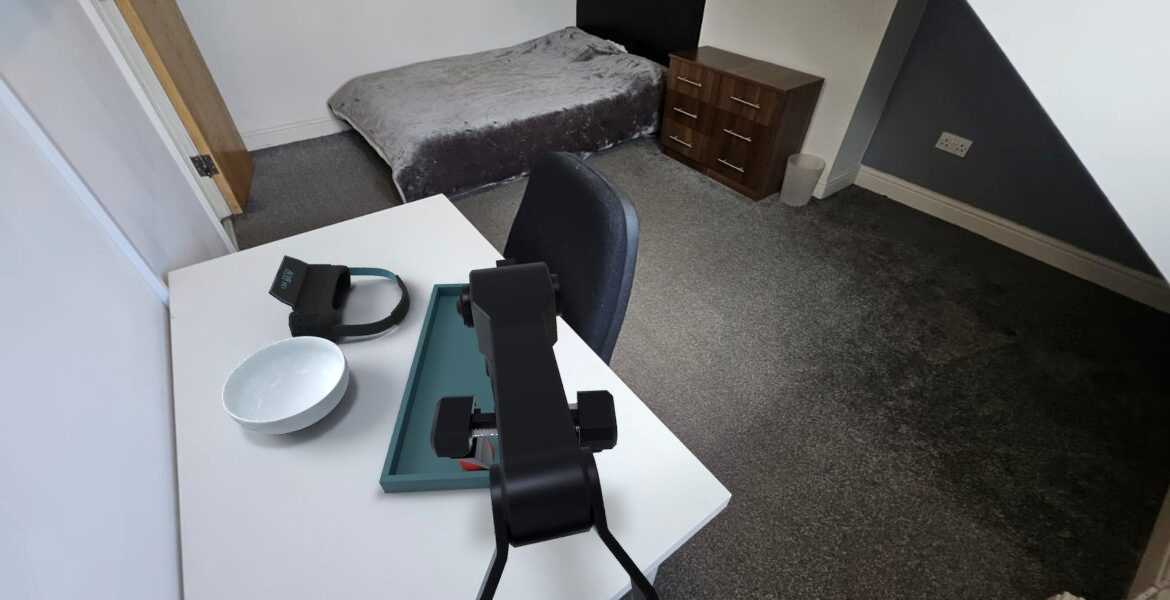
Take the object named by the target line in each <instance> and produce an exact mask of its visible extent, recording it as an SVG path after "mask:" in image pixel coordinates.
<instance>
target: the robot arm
mask: <svg viewBox="0 0 1170 600" xmlns="http://www.w3.org/2000/svg"><path fill="white" fill-rule="evenodd" d="M468 281H469V282H468V283H469V284H467V285H462V292H460V297H459V298H458V299H457V300H456V307H457V313H458V316H460V317H461V318H462V319H463V320H464V325H467V328H475V332H476V337H477V343H478V349H479V352H480V353H482V354H484V355H485V367H486V375H487V376H488V377H490V381H491V387H492V392H493V398H494V404H495V408H494V411H495V413H482V411H481V408H474V407H475V406H476V405H477V399H476V395H467V396H444V397H443V398H441V399H440V400H439V401H438V403H437V404H436V409H435V414H434V419H433V423H432V428H431V433H430V446H431V448H432V451H433V453H434V454H435V455H436V456H437V457H438V458H441V457H448V458H449V459H451V460H461V461H465V462H469V463H472V464H475V465H478V466H481V467H484V468H487V469H489V481H490V487H489V493H490V500H491V501H490V503H491V513H492V519H493V520H492V521H493V522H492V523H493V529H494V540H495V548H494V549H493V550H494V551H493V553H492V556H491V558H490V560H489V564H488V566H487V569H486V572H485V574H484V576H483V579H482V582H481V585H480V587H479V590H478V592H477V595H476V597H475V600H494V598H495V594H496V591H497V590H498V586H499V584H500V582H501V579H502V575H503V572H504V571H505V568H506V565H507V562H508V558H509V549H510V546H511V547H513V548H514V549H515V548H520V547H521V548H522V547H526V546H529V545H534V544H539V543H544V542H549V541H552V540H557V539H561V538H566V537H571V536H575V535H580V534H584V533H588V532H589V533H590V531H591V530H592V529H593V531H594V532H595V533H596V535H597V536H598V537H599V538H600V540H601V541H602V542H603V544H604V545H605V546H606V548H607V549H608V550H609V552H610V553H611V554H612V555H613V557H614V558H615V559H616V561H617V562H618V563H619V565H620V566H621V567H622V568H623V570H624V571H625V572H626V573H627V574H628V577H629V581H630V585H631V586H630V587H631V592H632V596H633V600H660V596H659V595H658V592H657V590H656V588H655V586H653V585H652V584H651V582H650V581H649V579H648V578H647V577H646V576H645V574H644V573H643V572H642V571H641V569H640V568H639V567H638V565H637V564H636V562H634V560H633V559H632V557H631V556H630V555H629V554H628V553H627V551H626V550H625V549H624V547H623V546H622V545H621V544H620V542H619V541H618V540H617V538H616V536H614V534H612V532H611V531H610V529H609V525H608V518H607V513H606V507H605V501H604V495H603V490H602V483H601V479H600V474H599V469H598V465H597V460H596V458H595V456H594V454H599V453H602V452H603V451H606V450H613V449H614V448H615V447H616V446H617V445H618V436H619V433H618V432H619V431H618V430H619V429H618V420H617V413H616V406H615V397H614V395H613V394H612V393H611V392H610V391H609V390H608V389H601V390H600V389H599V390H598V389H594V390H577V391H576V402H574V403H569V401H568V398H567V395H566V394H567V393H566V391H565V387H564V382H563V379H562V376H561V371H560V368H559V364H558V361H557V357H556V353H555V351H554V346H555V345H556V344H557V342H558V340H559V337H558V336H559V335H558V321H557V320H558V319H557V317H562V316H563V298H562V291H561V285H560V279H559V276H558V274H557V273H552V274H551V272H550V269H549V266H548V264H547V262H545V261H538V262H529V263H528V262H527V263H522V264H521V263H520V264H516V259H515V258H514V257H513V258H504V259H495V267H487V268H478V269H476V268H475V269H472V270H470V272H469V274H468ZM487 437H498V447H499V459H500V463H498V464H493V458H492V452H491V449H490V446H489V443H488V440H487Z"/></svg>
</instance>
